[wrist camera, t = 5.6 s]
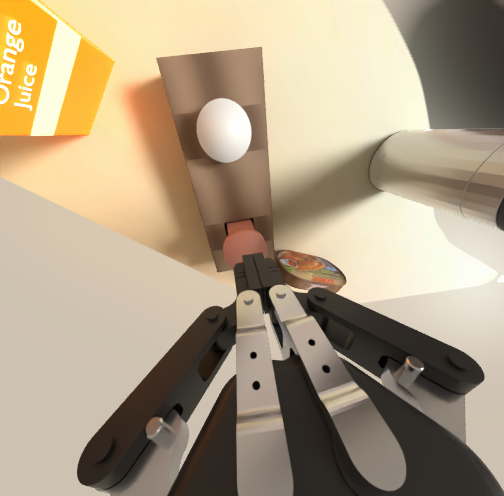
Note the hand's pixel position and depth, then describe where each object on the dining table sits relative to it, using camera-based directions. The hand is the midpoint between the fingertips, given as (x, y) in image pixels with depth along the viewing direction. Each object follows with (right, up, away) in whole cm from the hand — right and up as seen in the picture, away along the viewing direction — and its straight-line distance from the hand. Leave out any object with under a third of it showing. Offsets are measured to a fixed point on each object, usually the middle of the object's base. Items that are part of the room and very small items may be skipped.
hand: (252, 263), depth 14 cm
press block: (-3, +11, +15) cm, 19 cm away
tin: (+10, -1, +26) cm, 28 cm away
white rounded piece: (-4, +16, +11) cm, 20 cm away
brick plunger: (-2, +4, +15) cm, 16 cm away
